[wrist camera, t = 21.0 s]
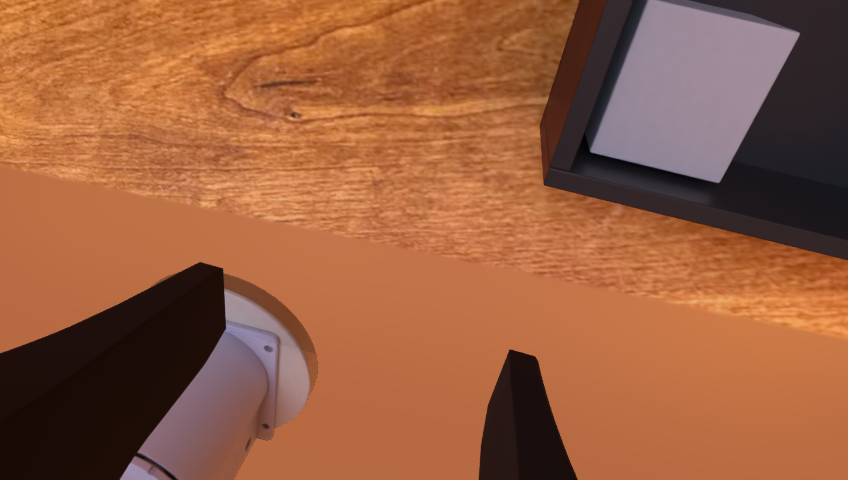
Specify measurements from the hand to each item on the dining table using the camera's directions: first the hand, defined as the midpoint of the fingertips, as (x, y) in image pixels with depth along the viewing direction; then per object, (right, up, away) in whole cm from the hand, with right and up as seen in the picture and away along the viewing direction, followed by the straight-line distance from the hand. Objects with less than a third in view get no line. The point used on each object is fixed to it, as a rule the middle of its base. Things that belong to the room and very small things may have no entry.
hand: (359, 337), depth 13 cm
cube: (+10, +8, +5) cm, 14 cm away
